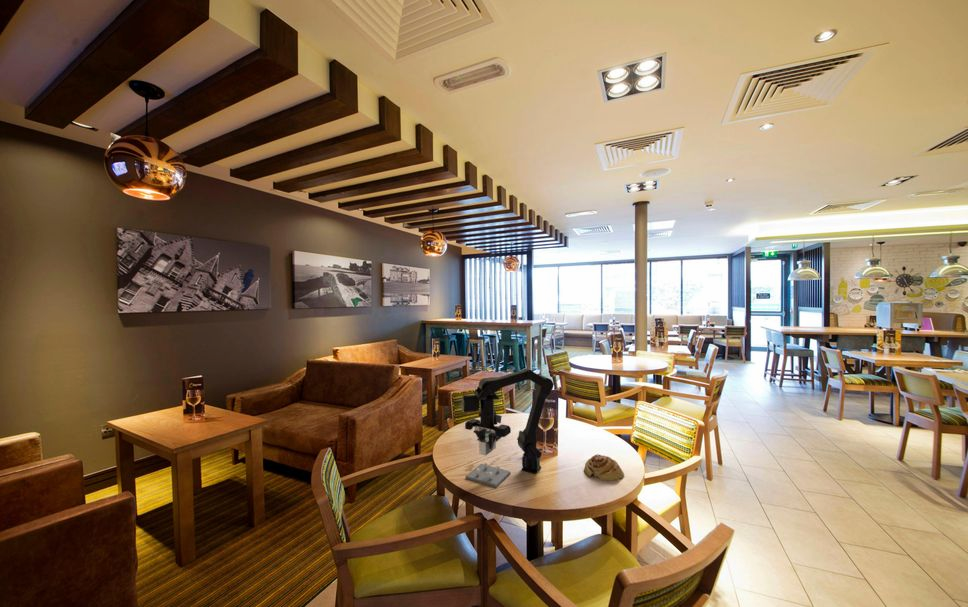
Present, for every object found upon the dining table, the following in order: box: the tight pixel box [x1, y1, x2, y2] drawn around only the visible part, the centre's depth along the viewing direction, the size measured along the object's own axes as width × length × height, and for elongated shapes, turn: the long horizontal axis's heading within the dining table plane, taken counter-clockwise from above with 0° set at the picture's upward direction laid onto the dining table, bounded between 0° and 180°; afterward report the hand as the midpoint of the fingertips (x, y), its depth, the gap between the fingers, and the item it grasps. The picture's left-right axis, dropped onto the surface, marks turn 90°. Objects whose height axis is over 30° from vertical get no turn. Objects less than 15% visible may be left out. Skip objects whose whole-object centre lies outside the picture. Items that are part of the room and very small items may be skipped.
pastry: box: [583, 454, 625, 482], centre depth 139 cm, size 13×15×8 cm
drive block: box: [478, 436, 497, 456], centre depth 139 cm, size 3×8×5 cm, turn 148°
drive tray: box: [465, 461, 511, 488], centre depth 138 cm, size 14×12×4 cm
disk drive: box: [477, 430, 502, 442], centre depth 181 cm, size 10×3×15 cm
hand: (487, 448), depth 139 cm, fingers closed on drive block, 3 cm apart
